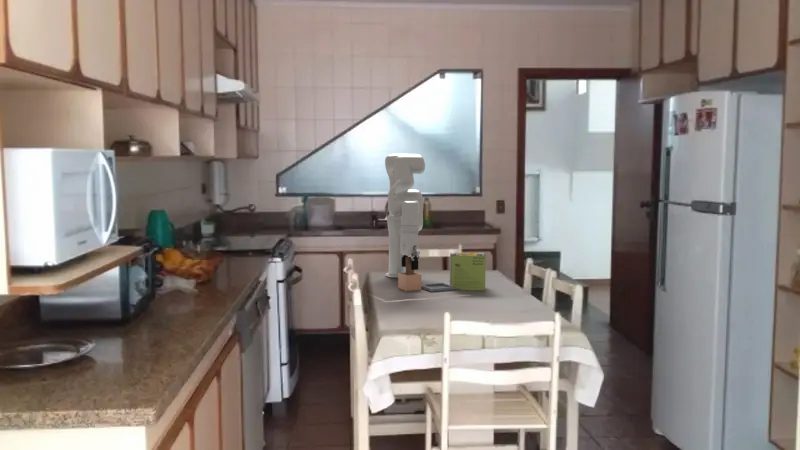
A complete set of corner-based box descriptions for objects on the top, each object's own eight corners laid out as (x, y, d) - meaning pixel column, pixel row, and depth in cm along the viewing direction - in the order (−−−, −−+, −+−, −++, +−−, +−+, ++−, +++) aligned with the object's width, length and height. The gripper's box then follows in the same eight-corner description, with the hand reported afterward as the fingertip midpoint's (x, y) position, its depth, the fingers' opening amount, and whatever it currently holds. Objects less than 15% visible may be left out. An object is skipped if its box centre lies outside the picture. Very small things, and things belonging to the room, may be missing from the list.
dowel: (404, 288, 320) (404, 256, 319) (411, 287, 322) (411, 256, 320) (407, 289, 317) (407, 257, 316) (415, 289, 318) (415, 257, 317)
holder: (398, 289, 321) (398, 272, 321) (413, 288, 324) (413, 271, 324) (405, 292, 314) (405, 275, 314) (421, 291, 318) (421, 274, 317)
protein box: (485, 290, 320) (486, 255, 319) (450, 290, 321) (451, 255, 319) (483, 286, 331) (483, 252, 330) (449, 286, 331) (449, 252, 330)
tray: (418, 289, 322) (418, 284, 322) (442, 287, 327) (442, 282, 327) (431, 293, 312) (431, 288, 311) (455, 291, 317) (455, 286, 316)
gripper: (394, 227, 323) (393, 266, 325) (410, 231, 308) (410, 271, 309) (409, 227, 326) (409, 265, 328) (426, 230, 311) (426, 270, 312)
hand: (409, 268), depth 318 cm, fingers open, 9 cm apart
